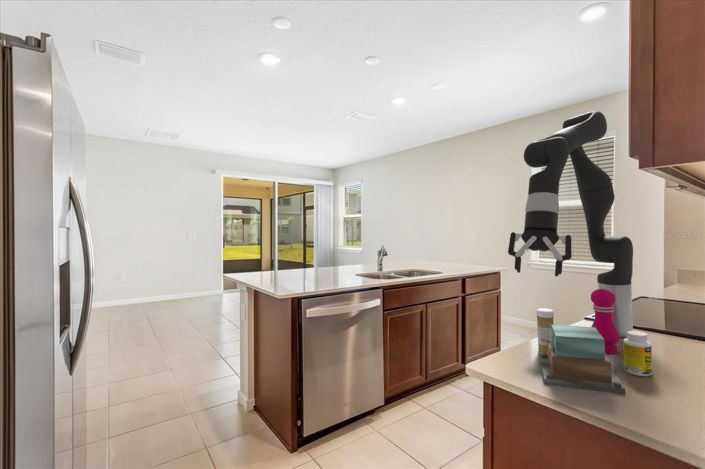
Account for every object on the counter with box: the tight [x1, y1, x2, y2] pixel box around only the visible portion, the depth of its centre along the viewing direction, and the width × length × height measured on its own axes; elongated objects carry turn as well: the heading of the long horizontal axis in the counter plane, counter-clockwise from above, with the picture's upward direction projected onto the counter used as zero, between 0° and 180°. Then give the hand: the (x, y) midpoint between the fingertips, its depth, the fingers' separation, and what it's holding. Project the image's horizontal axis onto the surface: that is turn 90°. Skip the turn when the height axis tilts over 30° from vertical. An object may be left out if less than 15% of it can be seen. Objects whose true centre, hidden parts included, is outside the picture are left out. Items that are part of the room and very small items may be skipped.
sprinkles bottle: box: [535, 307, 555, 356], centre depth 102 cm, size 5×5×13 cm
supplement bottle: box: [622, 330, 653, 377], centre depth 88 cm, size 6×6×10 cm
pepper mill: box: [590, 284, 620, 355], centre depth 103 cm, size 7×7×20 cm
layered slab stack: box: [539, 324, 626, 395], centre depth 88 cm, size 16×16×11 cm
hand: (537, 274), depth 88 cm, fingers open, 8 cm apart
